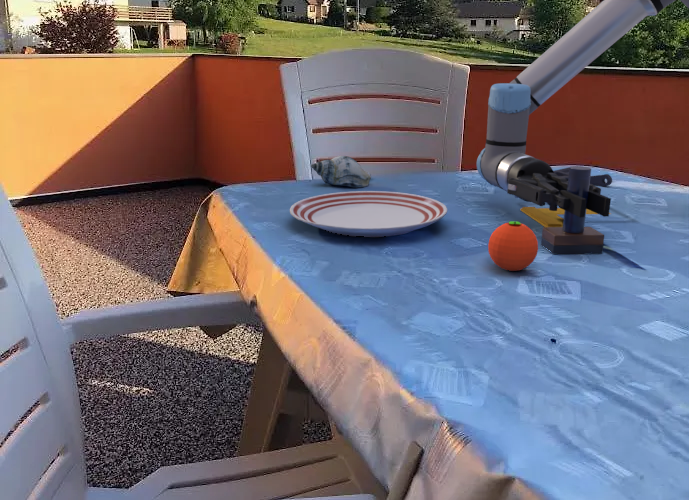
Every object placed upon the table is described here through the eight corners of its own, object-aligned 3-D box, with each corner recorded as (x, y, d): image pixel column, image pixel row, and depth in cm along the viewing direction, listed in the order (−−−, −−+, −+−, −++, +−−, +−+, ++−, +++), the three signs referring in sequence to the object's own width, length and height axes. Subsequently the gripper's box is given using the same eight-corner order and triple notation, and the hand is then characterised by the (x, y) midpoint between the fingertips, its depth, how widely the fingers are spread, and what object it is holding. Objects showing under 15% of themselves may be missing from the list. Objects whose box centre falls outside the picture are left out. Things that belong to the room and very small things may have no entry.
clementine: (483, 259, 106) (487, 213, 104) (530, 261, 105) (535, 215, 103) (488, 276, 98) (492, 226, 96) (539, 278, 98) (544, 229, 96)
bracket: (594, 191, 155) (596, 178, 154) (535, 180, 165) (536, 169, 165) (624, 183, 165) (626, 171, 164) (566, 174, 175) (568, 162, 174)
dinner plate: (297, 248, 110) (297, 227, 109) (284, 207, 136) (283, 190, 135) (467, 243, 114) (469, 223, 113) (423, 204, 140) (423, 188, 139)
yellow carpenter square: (599, 209, 138) (599, 205, 138) (634, 228, 125) (635, 223, 125) (520, 210, 137) (520, 206, 136) (547, 229, 123) (548, 224, 123)
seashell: (364, 196, 154) (312, 190, 157) (373, 176, 159) (322, 171, 162) (361, 171, 149) (308, 166, 153) (371, 152, 155) (319, 148, 158)
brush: (588, 244, 115) (597, 164, 111) (602, 253, 110) (613, 170, 106) (540, 245, 114) (548, 165, 110) (552, 254, 109) (561, 170, 105)
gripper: (565, 196, 129) (641, 230, 107) (481, 199, 126) (541, 234, 104) (570, 156, 127) (648, 181, 105) (484, 157, 124) (546, 184, 102)
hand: (595, 207), depth 104 cm, fingers closed on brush, 3 cm apart
